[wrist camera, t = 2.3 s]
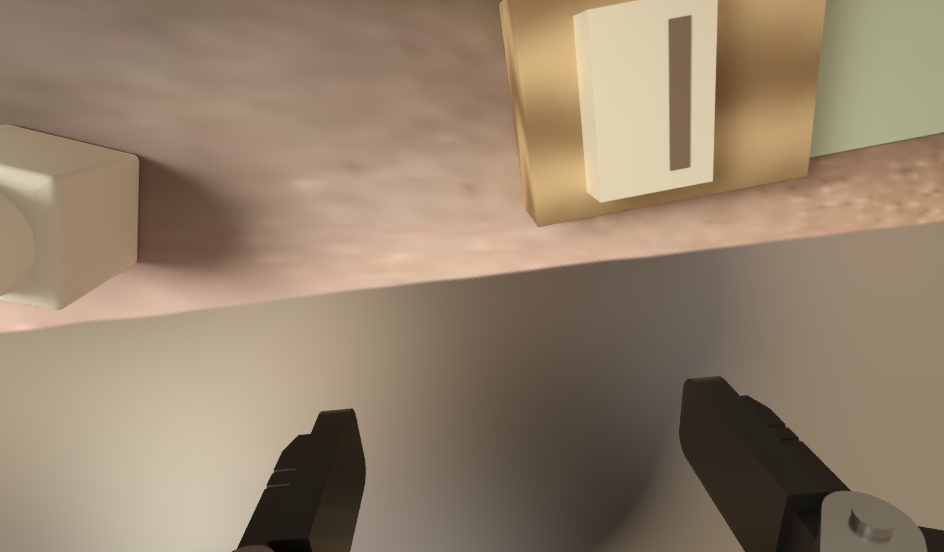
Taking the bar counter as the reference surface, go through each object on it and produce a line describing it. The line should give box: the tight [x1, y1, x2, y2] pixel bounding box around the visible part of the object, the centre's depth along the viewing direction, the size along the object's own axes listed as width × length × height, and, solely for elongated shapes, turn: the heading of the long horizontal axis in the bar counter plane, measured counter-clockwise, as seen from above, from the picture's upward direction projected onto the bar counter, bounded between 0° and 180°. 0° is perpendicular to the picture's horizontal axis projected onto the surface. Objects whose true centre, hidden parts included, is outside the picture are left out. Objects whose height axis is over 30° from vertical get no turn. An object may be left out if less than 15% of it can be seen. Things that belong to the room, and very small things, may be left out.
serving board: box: [499, 0, 826, 227], centre depth 27 cm, size 12×16×4 cm
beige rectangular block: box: [573, 0, 718, 203], centre depth 24 cm, size 9×6×2 cm, turn 10°
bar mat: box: [810, 0, 944, 157], centre depth 29 cm, size 10×12×1 cm
